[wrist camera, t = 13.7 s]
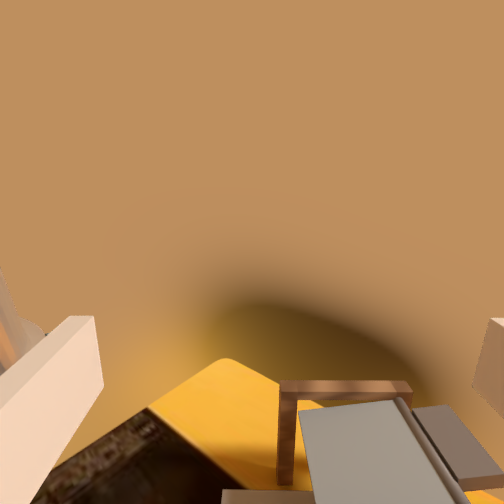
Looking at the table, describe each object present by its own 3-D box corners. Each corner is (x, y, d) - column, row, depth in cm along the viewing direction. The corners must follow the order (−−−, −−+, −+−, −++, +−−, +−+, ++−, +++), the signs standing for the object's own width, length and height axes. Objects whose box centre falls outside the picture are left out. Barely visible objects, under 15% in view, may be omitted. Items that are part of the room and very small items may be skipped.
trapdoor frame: (292, 659, 26) (301, 538, 22) (276, 470, 43) (279, 380, 39) (475, 659, 26) (518, 538, 22) (389, 470, 43) (405, 380, 39)
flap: (320, 533, 26) (319, 519, 25) (299, 418, 37) (297, 408, 37) (522, 512, 25) (525, 498, 25) (437, 402, 37) (437, 391, 36)
